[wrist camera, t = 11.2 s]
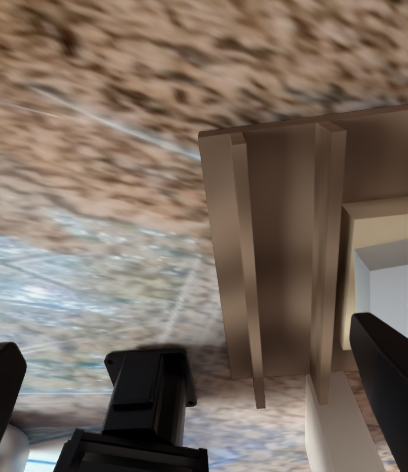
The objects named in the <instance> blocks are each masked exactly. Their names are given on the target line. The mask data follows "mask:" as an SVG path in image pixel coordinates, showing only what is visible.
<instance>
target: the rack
mask: <svg viewBox="0 0 408 472" xmlns="http://www.w3.org/2000/svg"><path fill="white" fill-rule="evenodd" d="M198 142H199V149H200V157H201V164H202V171H203V178H204V185H205V192H206V199H207V207H208V214H209V221H210V228H211V235H212V242H213V250H214V257H215V264H216V271H217V278H218V285H219V292H220V300H221V307H222V314H223V321H224V328H225V335H226V343H227V350H228V357H229V364H230V371H231V378H232V379H242V378H253V383H254V391H255V399H256V407H257V409H263V408H265V395H264V381H263V377H272V376H286V375H301V374H310V376H311V380H312V383H313V386H314V389H315V393H316V396H317V399H318V403H319V405H328V403H329V388H330V373H331V372H345V371H358V368H357V364H356V361H355V358H354V355H353V352H352V349H351V350H343V349H342V347H341V344H340V342H339V340H338V338H337V335H336V333H335V331H334V329H333V328H334V313H335V298H336V283H337V269H338V254H339V239H340V224H341V209H342V204H346V203H355V202H364V201H373V200H382V199H391V198H400V197H408V104H405V105H398V106H390V107H383V108H375V109H368V110H360V111H353V112H345V113H338V114H330V115H323V116H315V117H308V118H300V119H293V120H285V121H278V122H270V123H263V124H255V125H248V126H240V127H233V128H225V129H218V130H210V131H203V132H199V135H198Z"/></svg>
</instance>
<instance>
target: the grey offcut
mask: <svg viewBox="0 0 408 472" xmlns="http://www.w3.org/2000/svg"><path fill="white" fill-rule="evenodd" d="M354 268H355V296H356V313H361V312H370V313H372V314H373V315H375V316H376V317H378V318H379V319H381V320H382V321H384V322H385V323H387V324H388V325H389V326H391V327H392V328H394V329H395V330H397V331H398V332H400V333H401V334H403V335H404V336H406V337H407V338H408V239H407V240H401V241H396V242H390V243H385V244H379V245H374V246H369V247H363V248H358V249H354Z"/></svg>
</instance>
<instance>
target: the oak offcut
mask: <svg viewBox="0 0 408 472" xmlns="http://www.w3.org/2000/svg"><path fill="white" fill-rule="evenodd" d="M407 239H408V197H400V198H391V199H382V200H373V201H364V202H355V203H346V204H342V209H341V224H340V239H339V254H338V269H337V283H336V298H335V313H334V328H333V329H334V331H335V333H336V335H337V338H338V340H339V342H340V344H341V347H342V349H343V350H351V346H350V341H349V334H350V323H351V316H352V314H354V313H356V296H355V268H354V249H358V248H363V247H369V246H374V245H379V244H385V243H390V242H396V241H401V240H407Z"/></svg>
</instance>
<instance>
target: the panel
mask: <svg viewBox="0 0 408 472" xmlns="http://www.w3.org/2000/svg"><path fill="white" fill-rule="evenodd" d="M305 447H306V451H307V456H308V460H309V464H310V468H311V472H386V471H385V468H384V466H383V463H382V461H381V459H380V456H379V454H378V451H377V449H376V447H375V444H374V442H373V439H372V437H371V435H370V432H369V430H368V427H367V425H366V423H365V420H364V418H363V416H362V413H361V411H360V408H359V406H358V404H357V401H356V399H355V396H354V394H353V392H352V389H351V387H350V384H349V382H348V380H347V377H346V375H345V372H331V373H330V388H329V403H328V405H319V403H318V399H317V396H316V393H315V389H314V386H313V383H312V380H311V376H310V374H306V416H305Z"/></svg>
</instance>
